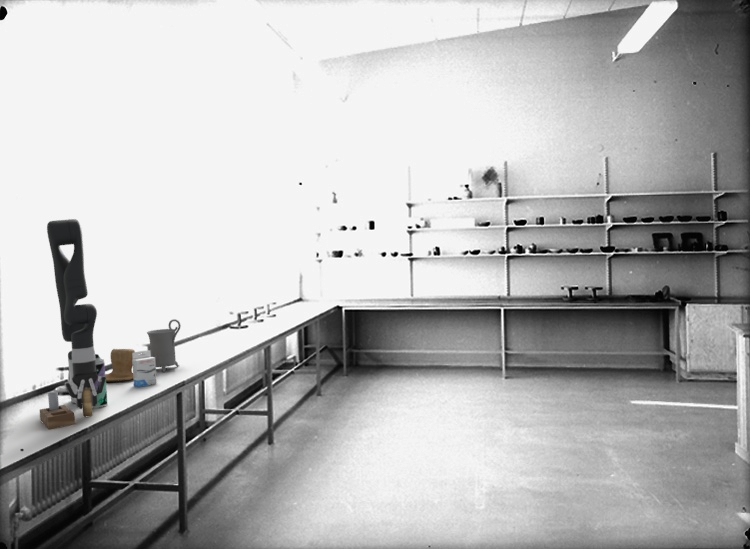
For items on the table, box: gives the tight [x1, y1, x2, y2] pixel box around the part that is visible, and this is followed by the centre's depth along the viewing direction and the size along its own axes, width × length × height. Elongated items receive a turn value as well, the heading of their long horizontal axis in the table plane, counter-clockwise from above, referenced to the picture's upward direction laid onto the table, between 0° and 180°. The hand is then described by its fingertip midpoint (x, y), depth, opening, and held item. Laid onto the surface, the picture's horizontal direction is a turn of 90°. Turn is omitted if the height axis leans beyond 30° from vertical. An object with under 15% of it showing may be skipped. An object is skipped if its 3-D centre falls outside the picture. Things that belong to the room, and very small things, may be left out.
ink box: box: [132, 349, 158, 388], centre depth 261 cm, size 9×5×15 cm, turn 133°
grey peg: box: [47, 390, 60, 411], centre depth 209 cm, size 3×3×10 cm
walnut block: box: [39, 404, 76, 430], centre depth 206 cm, size 15×8×4 cm, turn 39°
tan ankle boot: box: [105, 348, 136, 383], centre depth 273 cm, size 15×12×15 cm
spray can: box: [91, 353, 108, 409], centre depth 226 cm, size 6×6×20 cm
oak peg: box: [82, 388, 94, 418], centre depth 213 cm, size 3×3×10 cm
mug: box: [146, 318, 182, 373], centre depth 294 cm, size 19×15×25 cm
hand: (87, 406), depth 213 cm, fingers open, 3 cm apart
